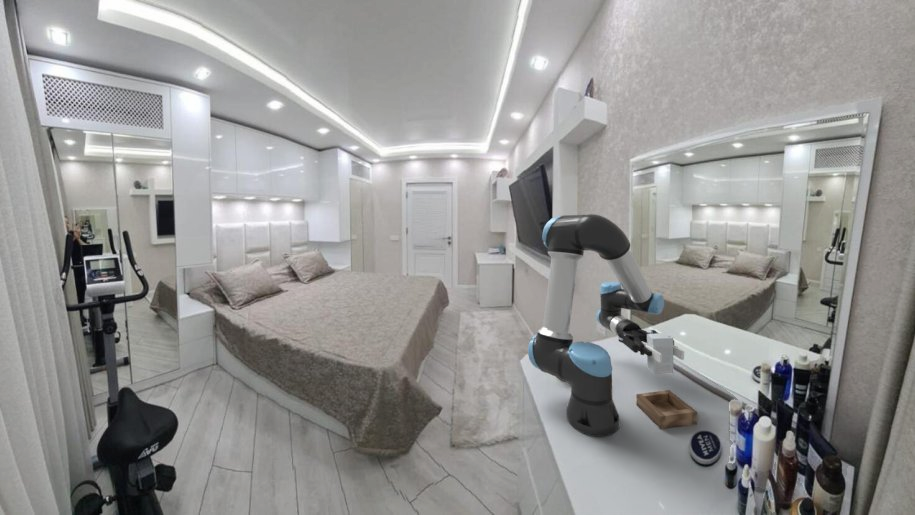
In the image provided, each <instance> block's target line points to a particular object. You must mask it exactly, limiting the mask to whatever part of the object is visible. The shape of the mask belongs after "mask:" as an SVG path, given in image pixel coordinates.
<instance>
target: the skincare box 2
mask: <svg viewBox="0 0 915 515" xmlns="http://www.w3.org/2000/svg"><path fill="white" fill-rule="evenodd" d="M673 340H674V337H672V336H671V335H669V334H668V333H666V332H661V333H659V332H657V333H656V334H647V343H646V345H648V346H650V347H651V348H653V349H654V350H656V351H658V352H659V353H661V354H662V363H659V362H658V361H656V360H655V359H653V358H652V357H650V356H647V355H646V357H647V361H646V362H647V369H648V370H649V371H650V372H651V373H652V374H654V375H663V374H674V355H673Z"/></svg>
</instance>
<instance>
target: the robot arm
mask: <svg viewBox="0 0 915 515" xmlns="http://www.w3.org/2000/svg"><path fill="white" fill-rule="evenodd" d="M542 242H543V245H544V247H546V248H547V254H548V256H549V257H550V267H549V276H548V283H547V291H546V297H545V308H544V316H543V322H542V326H541V328H540V329H539V328H538V330H537V332H536V334H534V335H533V336H532V337H531V340H529V343H528V347H527V355H528V359H529V361H530V363H531V364H532V365H533V367H534V368H536V369H538V370H540V371H541V372H543V373H545V374H549V375H551V376H553V377H556V378H557V379H559V378H560V379H562V380H561V381H564V382H566V383H569V384H570V391H571V394H570V397H569V400H568V401H567V406H566V419H567V422H568V423H569V425H570V426H572V428H574V429H575V430H577V431H578V432H580V433H583V434H584V435H588V436H593V437H607V436H611V435H613V434H615V433H616V432H617V431H619V428H620V424H621V422H620V414H619V412H618V410H617V407H616V404H615V401H614V400H613V374H612V372H613V366H612V359H611V356H610V354H609V352H608V351H607V350H606V349H605V348H604V347H602V346H600V345H599V344H595V343H593V342H589V341H586V342H584V341H576V342H574V337H573V335H572V334H571V332H570V328H571V327H570V326H571V317H572V311H573V302H574V301H573V300H574V294H575V287H576V286H575V285H576V278H577V271H578V263H579V260H581V259H582V258H583V257H584V253H585V251H587V252H588V251H591V252H595V253H597V254H598V255H599V257H600V258H601V259H602V260H605V261H606V262H607V264H608V265H609V268H610V269H611V271H612V272H613V274H614V275H615V277H616V278H617V280H618V282H617V281H603V283H601V284H600V292H599V295H600V296H599V297H600V309H599V310H597V313H596V316H595V318H596V320H597V322H598V323H599V324H600V325H601V326H602V327H603V328H605V329H608V330H609V331H610V332H612V333H613V334H615V335H616V336H618V342H619V343H622V344H623V345H624V346H626V347H627V348H628V349H629V350H631V351H632V352H633V353H635V354H637V353H638V352H639V354H640V355H641V356H644V355H646V357H647V356H650V357H652V358H653V359H655V360H656V361H658V362H659V363H662V354H661V353H659V352H658V351H656V350H654V349H653V348H651V347H650V346H648V345H647V334H656V333H658V332H657V331H656V330H655V329H651V330H650V331H646V330H644V329H642V327H641V326H640V325H639V324H638V323H636V322H634V321H633V320H631V319H630V318H627V317H625V316H623V315H622V310H623V309H624V310H629V311H634V312H638V313H639V312H640V313H643V314H650V315H660V314H662V312H663V310H664V308H665V307H664V306H665V299H664V297H663V295H662V294H658V293H656V292H655V293H653V291H652V290H651V288H650V286H649V285H648V283H647V280H646V279H645V276H644V275H643V273H642V271H641V269H640V267H639V265H638V263H637V262H636V260H635V257H634V255H633V254H632V252H631V242H630V240H629V238H628V236H627V234H626V233H625V232H624V231H623V230H622V229H621V228H620V227H619V226H618V225H617V224H616V223H614V222H613V221H612V220H610V219H608V218H606V217H605V216H602V215H600V214H593V213H591V214H589V213H588V214H570V215H564V214H563V215H560V216H554V217H552V218H550V220H549V221H547V222H546V224H544V227H543V230H542ZM644 343H646V344H644ZM674 356H675V357H676V358H677V359H680V360H681V361H684V360H685V350H683V349H681V348H679V347H678V346H676V345H675V340H674V339H673V357H674ZM560 379H559V380H560Z"/></svg>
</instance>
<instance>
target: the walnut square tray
mask: <svg viewBox="0 0 915 515" xmlns="http://www.w3.org/2000/svg"><path fill="white" fill-rule="evenodd" d="M636 406H637V408H639V409H640V410H641V411H642V413H644V414H645V415H646V417H648V418H649V419H650V420H651V421H652V422H653V423H654V424H655V425H656V426H657V427H658V428H659V429H660V430H663V429H670V428H676V427H677V428H678V427H685V426H693V425H697V424H698V411H697V410H696V409H695V408H693V407H692V406H690V404H688V403H687V402H686V401H684V400H683V399H682V398H681V397H679V396H678V395H677V394H675V393H674V392H673V391H672V390H670V389H666V390H659V391H651V392H650V391H649V392H644V393H637V394H636Z"/></svg>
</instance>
